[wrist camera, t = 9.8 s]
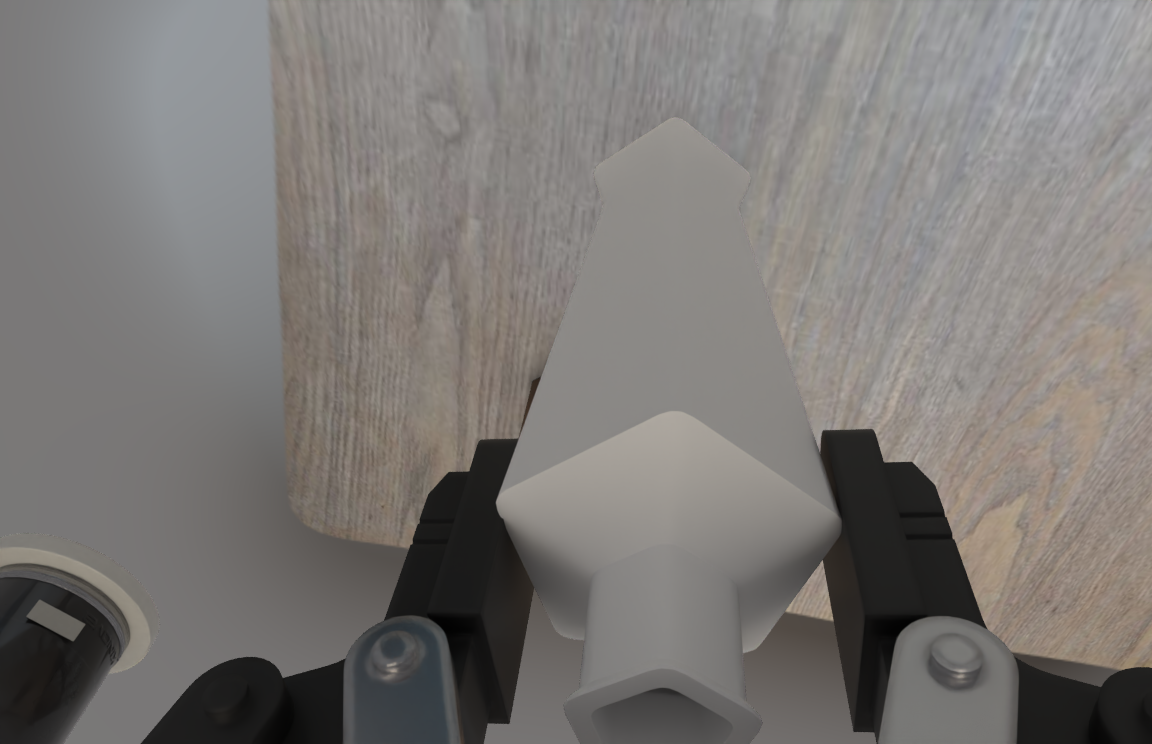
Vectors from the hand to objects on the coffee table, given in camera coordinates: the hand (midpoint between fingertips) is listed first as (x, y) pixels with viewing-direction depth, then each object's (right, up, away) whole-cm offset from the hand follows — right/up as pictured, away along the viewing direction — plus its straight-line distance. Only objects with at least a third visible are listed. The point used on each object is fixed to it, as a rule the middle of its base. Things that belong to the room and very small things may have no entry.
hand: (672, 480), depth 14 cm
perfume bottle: (+1, +6, +8) cm, 11 cm away
